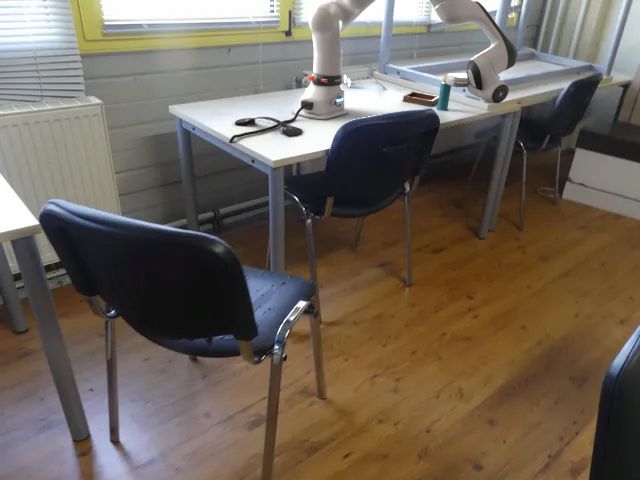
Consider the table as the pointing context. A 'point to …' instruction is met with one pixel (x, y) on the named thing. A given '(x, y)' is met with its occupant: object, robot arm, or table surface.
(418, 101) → the tray
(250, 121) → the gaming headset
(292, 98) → the table surface
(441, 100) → the toy figure
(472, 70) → the robot arm
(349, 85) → the eyeglasses
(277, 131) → the table surface
